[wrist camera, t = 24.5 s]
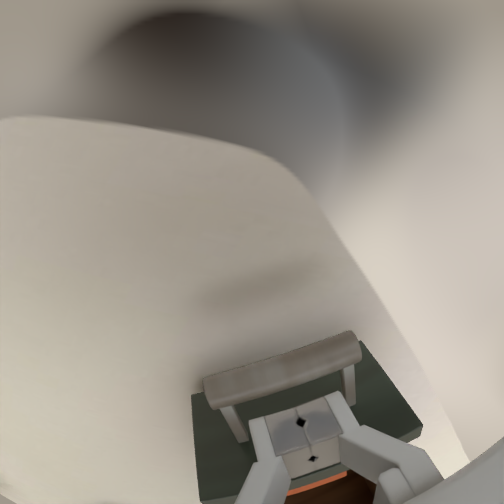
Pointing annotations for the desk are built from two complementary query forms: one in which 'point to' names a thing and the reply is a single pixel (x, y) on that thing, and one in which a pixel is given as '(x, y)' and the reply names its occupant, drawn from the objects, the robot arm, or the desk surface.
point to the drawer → (286, 397)
